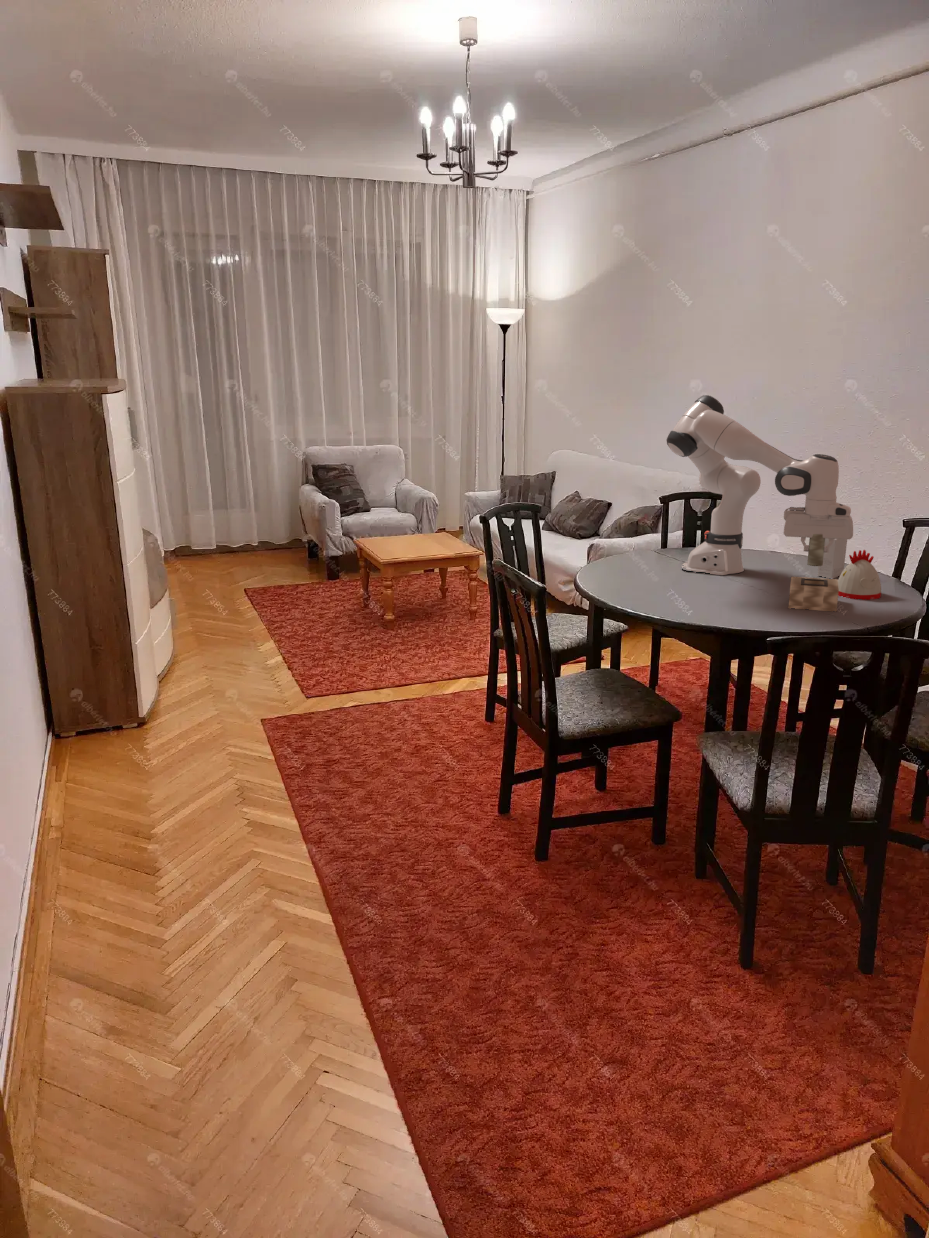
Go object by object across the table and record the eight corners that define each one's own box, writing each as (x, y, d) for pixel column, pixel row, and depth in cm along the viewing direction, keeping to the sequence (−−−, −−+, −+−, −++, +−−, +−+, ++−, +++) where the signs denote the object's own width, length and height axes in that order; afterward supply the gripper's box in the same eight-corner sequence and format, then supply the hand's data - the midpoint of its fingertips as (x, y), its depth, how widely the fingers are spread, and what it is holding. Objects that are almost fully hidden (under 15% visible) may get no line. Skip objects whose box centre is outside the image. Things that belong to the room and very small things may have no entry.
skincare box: (828, 572, 316) (832, 532, 312) (844, 575, 312) (848, 534, 307) (816, 576, 311) (820, 535, 307) (832, 579, 307) (836, 538, 302)
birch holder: (788, 608, 273) (790, 585, 271) (789, 597, 286) (791, 575, 283) (836, 611, 268) (838, 588, 266) (835, 600, 281) (837, 578, 279)
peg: (807, 565, 272) (809, 534, 269) (807, 562, 276) (810, 531, 273) (822, 566, 270) (825, 535, 267) (822, 563, 274) (825, 532, 271)
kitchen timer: (827, 590, 293) (831, 546, 289) (865, 588, 294) (870, 544, 290) (849, 601, 280) (854, 555, 275) (889, 598, 281) (894, 553, 277)
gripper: (784, 508, 269) (780, 551, 273) (856, 510, 262) (851, 555, 265) (784, 505, 275) (781, 548, 278) (855, 507, 267) (850, 551, 271)
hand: (816, 551), depth 272 cm, fingers closed on peg, 4 cm apart
